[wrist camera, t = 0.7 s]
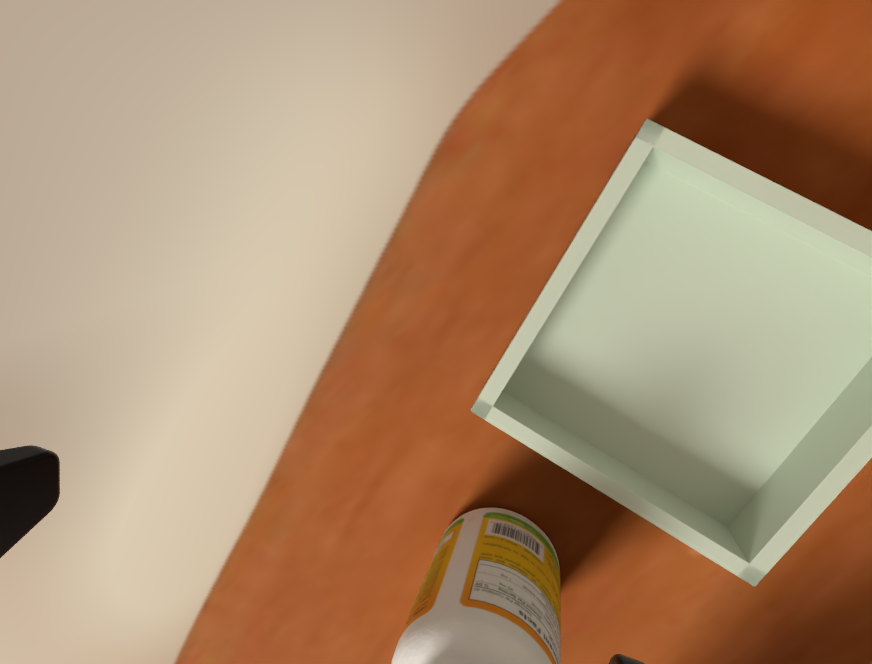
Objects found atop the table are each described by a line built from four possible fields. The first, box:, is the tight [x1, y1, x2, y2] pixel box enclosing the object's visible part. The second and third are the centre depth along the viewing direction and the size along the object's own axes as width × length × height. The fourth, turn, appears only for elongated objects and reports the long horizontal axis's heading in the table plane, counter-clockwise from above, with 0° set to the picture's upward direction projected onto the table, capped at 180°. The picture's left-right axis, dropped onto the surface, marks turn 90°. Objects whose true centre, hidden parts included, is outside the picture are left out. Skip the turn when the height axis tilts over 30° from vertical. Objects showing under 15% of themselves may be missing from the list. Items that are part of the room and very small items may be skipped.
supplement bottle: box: [391, 507, 560, 664], centre depth 17 cm, size 5×5×10 cm
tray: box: [470, 119, 872, 587], centre depth 17 cm, size 11×11×3 cm
